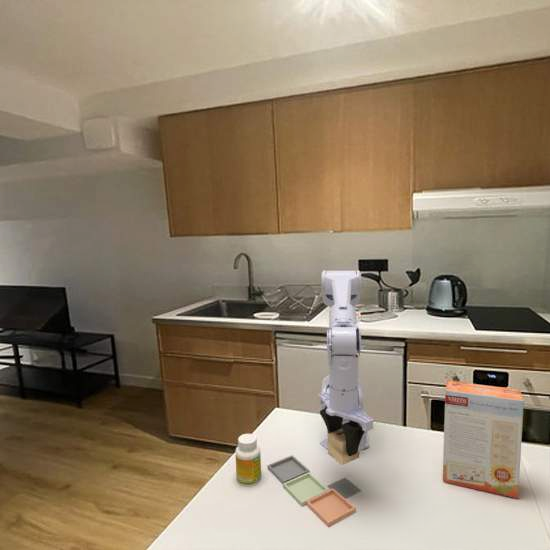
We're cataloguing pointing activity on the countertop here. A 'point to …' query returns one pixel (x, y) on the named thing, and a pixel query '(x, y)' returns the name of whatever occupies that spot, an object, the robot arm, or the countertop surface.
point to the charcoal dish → (287, 469)
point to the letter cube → (339, 447)
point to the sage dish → (304, 488)
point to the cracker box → (483, 437)
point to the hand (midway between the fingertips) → (343, 447)
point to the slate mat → (344, 488)
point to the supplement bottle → (248, 461)
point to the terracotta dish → (331, 507)
